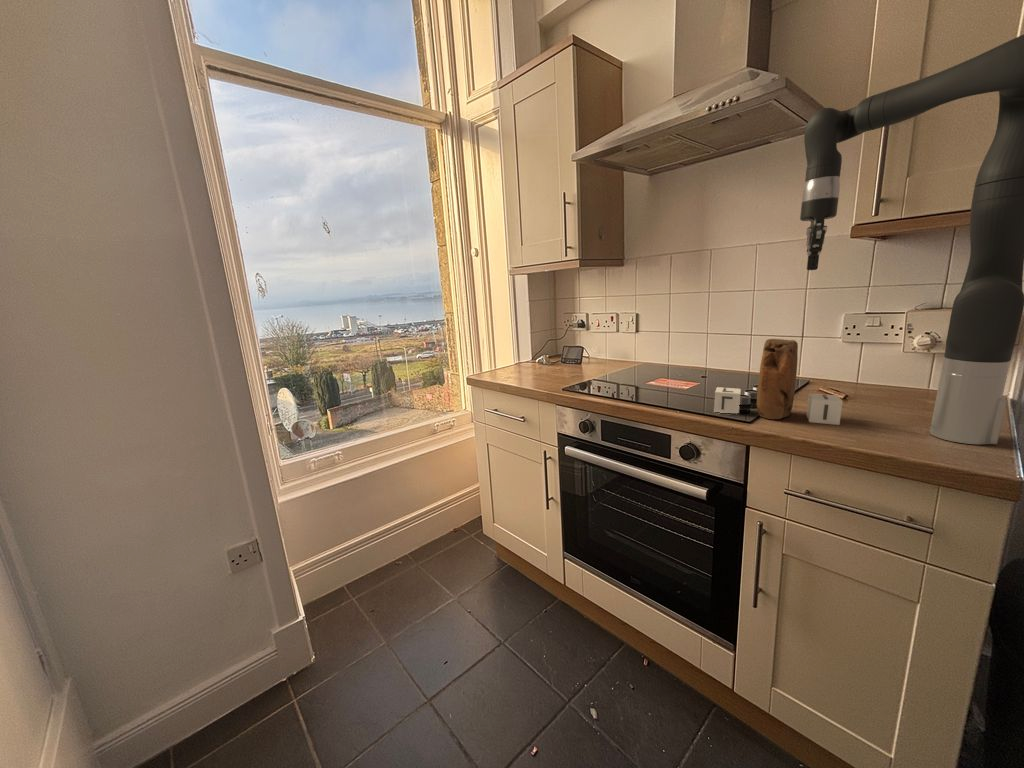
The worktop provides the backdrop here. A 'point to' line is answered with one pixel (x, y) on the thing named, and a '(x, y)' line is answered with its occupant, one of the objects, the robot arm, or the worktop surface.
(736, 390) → the cube seven
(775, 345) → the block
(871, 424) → the worktop surface
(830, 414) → the cube one
